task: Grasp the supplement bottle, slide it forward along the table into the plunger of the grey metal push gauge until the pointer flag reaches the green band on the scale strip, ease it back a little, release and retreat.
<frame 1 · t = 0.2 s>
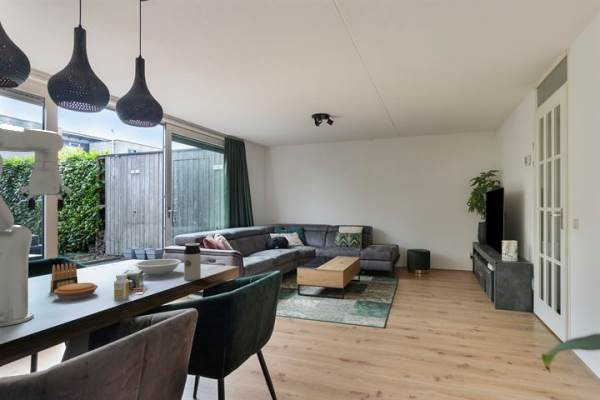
hand: (46, 209, 136), 36 cm above the table, tool pointing down, fingers open, 9 cm apart
ammunition clip: (64, 290, 154), on the table
soup bowl: (158, 274, 187), on the table
travel mug: (192, 279, 175), on the table
supplement bottle: (121, 298, 139), on the table
pie: (76, 297, 142), on the table
gauge housing: (133, 286, 159), on the table
plunger: (134, 284, 151), point 3 cm above the table, slide at 0.0 cm
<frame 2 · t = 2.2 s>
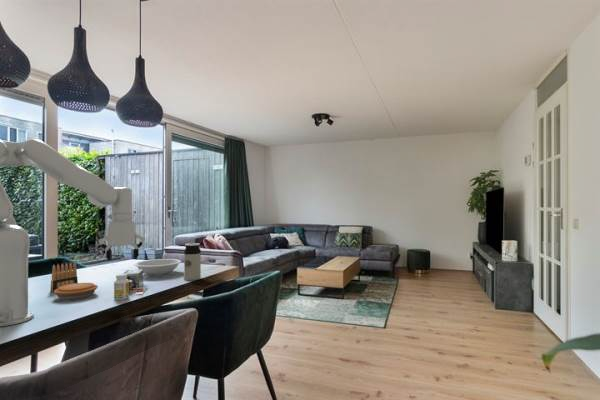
hand: (122, 259, 140), 16 cm above the table, tool pointing down, fingers open, 9 cm apart
nothing on the table moved.
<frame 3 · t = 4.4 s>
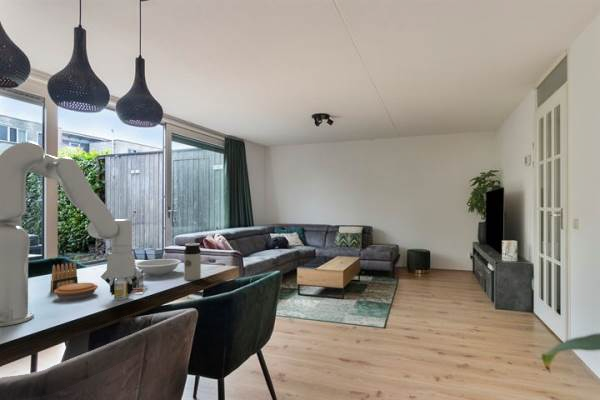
hand: (121, 293, 139), 2 cm above the table, tool pointing down, fingers closed on supplement bottle, 5 cm apart
supplement bottle: (121, 298, 139), on the table, touching gripper
everything else where it was.
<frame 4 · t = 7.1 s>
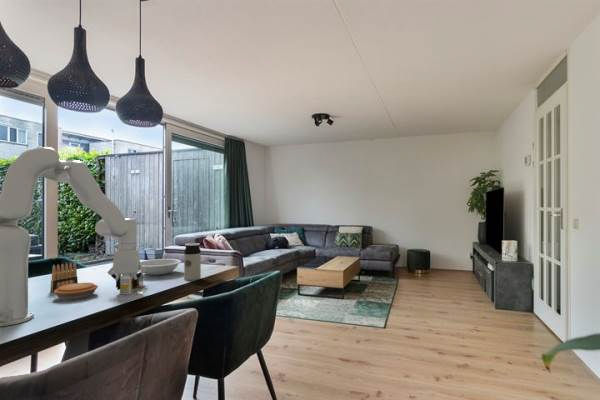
hand: (126, 288, 148), 2 cm above the table, tool pointing down, fingers closed on supplement bottle, 5 cm apart
supplement bottle: (126, 293, 148), on the table, touching gripper, plunger
plunger: (136, 282, 156), point 3 cm above the table, slide at 4.4 cm, touching supplement bottle
everything else where it was.
when the fingers open (2 cm above the table, at t = 8.6 s): supplement bottle stays where it is, on the table.
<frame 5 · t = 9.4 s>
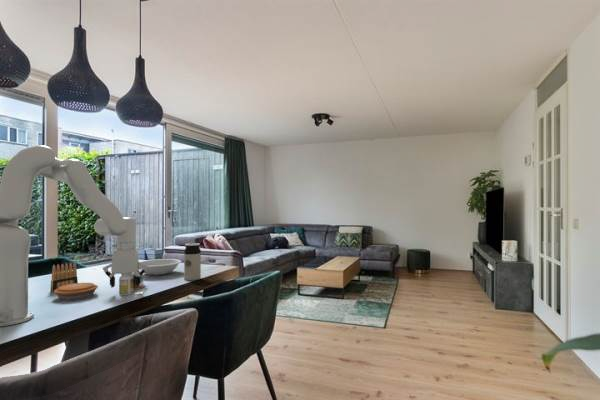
hand: (125, 286, 146), 3 cm above the table, tool pointing down, fingers open, 9 cm apart
supplement bottle: (126, 294, 146), on the table
plunger: (136, 282, 156), point 3 cm above the table, slide at 4.5 cm
everything else where it was.
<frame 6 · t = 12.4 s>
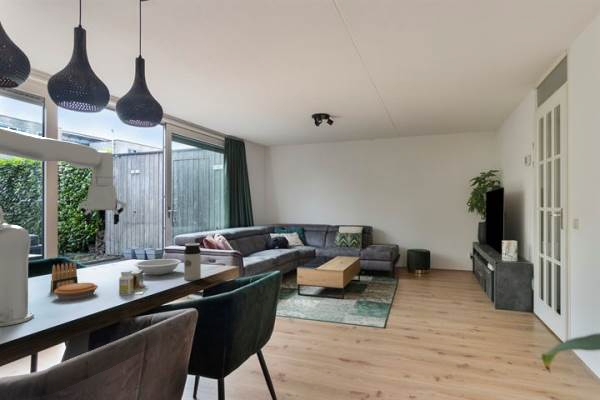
hand: (102, 224, 138), 30 cm above the table, tool pointing down, fingers open, 9 cm apart
nothing on the table moved.
at the end: plunger slide at 4.5 cm; the gripper is holding nothing; supplement bottle tilted 0° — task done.
